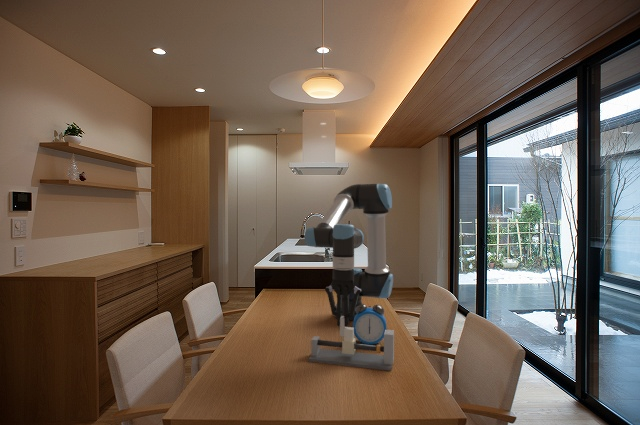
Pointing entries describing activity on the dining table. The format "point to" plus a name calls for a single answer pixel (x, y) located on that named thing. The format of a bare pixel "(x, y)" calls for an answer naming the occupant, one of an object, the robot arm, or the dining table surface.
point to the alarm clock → (369, 324)
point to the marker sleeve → (348, 341)
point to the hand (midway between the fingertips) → (342, 335)
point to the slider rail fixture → (358, 358)
